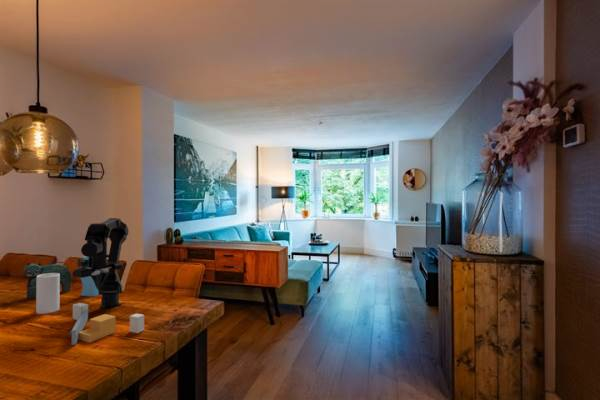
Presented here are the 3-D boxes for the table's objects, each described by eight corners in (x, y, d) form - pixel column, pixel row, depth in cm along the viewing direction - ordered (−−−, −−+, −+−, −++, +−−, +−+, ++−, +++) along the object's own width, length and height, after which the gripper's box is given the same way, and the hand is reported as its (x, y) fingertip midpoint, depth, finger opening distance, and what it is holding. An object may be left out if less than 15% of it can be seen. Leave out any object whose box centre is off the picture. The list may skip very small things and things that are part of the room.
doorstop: (105, 329, 126) (105, 313, 126) (115, 332, 124) (115, 316, 124) (78, 339, 117) (78, 322, 117) (89, 342, 115) (89, 325, 115)
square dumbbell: (79, 316, 139) (79, 302, 139) (144, 330, 126) (144, 314, 126) (72, 319, 136) (72, 304, 136) (137, 333, 123) (137, 317, 123)
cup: (32, 314, 140) (32, 277, 140) (41, 308, 148) (42, 273, 148) (54, 313, 143) (54, 276, 142) (62, 306, 150) (62, 272, 150)
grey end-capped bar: (88, 318, 136) (88, 306, 136) (75, 344, 112) (75, 329, 112) (81, 319, 135) (81, 307, 135) (67, 345, 111) (67, 331, 111)
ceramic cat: (24, 300, 159) (24, 259, 159) (21, 297, 163) (22, 257, 163) (72, 291, 174) (72, 254, 174) (68, 289, 178) (69, 253, 178)
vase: (93, 296, 166) (93, 257, 166) (80, 295, 167) (80, 256, 167) (105, 292, 174) (106, 255, 173) (93, 291, 175) (93, 254, 175)
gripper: (105, 248, 149) (105, 282, 150) (63, 254, 132) (63, 293, 132) (123, 250, 145) (123, 284, 146) (82, 257, 128) (82, 296, 128)
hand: (98, 289), depth 138 cm, fingers closed
